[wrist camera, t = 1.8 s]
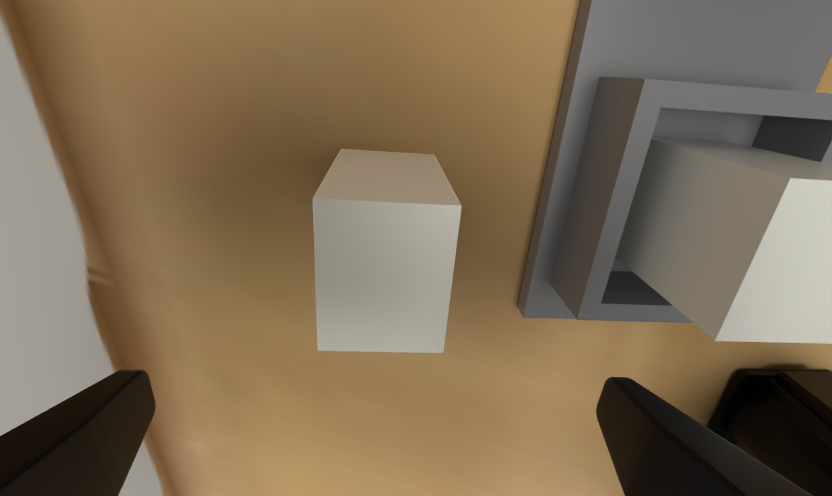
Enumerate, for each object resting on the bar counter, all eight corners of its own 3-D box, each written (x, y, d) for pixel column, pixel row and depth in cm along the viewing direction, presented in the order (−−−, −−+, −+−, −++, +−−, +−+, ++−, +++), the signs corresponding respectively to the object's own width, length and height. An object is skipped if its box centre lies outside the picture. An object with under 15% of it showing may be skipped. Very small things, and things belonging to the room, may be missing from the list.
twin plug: (683, 249, 19) (835, 343, 12) (602, 246, 18) (714, 340, 12) (725, 141, 17) (931, 186, 10) (634, 134, 16) (790, 178, 10)
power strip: (698, 311, 22) (760, 361, 18) (517, 306, 21) (544, 357, 17) (1039, -491, 11) (1362, -766, 7) (698, -570, 10) (873, -928, 6)
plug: (425, 258, 19) (443, 353, 13) (341, 255, 19) (317, 350, 13) (434, 154, 17) (461, 205, 11) (341, 148, 17) (312, 198, 11)
